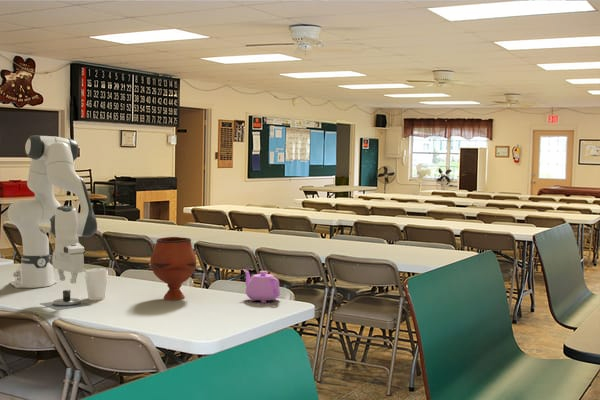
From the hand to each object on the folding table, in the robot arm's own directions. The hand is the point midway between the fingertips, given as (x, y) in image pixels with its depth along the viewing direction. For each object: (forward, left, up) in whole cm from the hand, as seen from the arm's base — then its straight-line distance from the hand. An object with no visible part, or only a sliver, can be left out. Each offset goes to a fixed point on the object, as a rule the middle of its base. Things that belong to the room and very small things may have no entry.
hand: (67, 281), depth 278 cm
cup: (-3, +14, -9) cm, 17 cm away
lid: (-1, 0, -9) cm, 9 cm away
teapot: (+43, +64, -9) cm, 78 cm away
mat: (0, -1, -9) cm, 9 cm away
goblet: (+16, +39, -9) cm, 43 cm away
